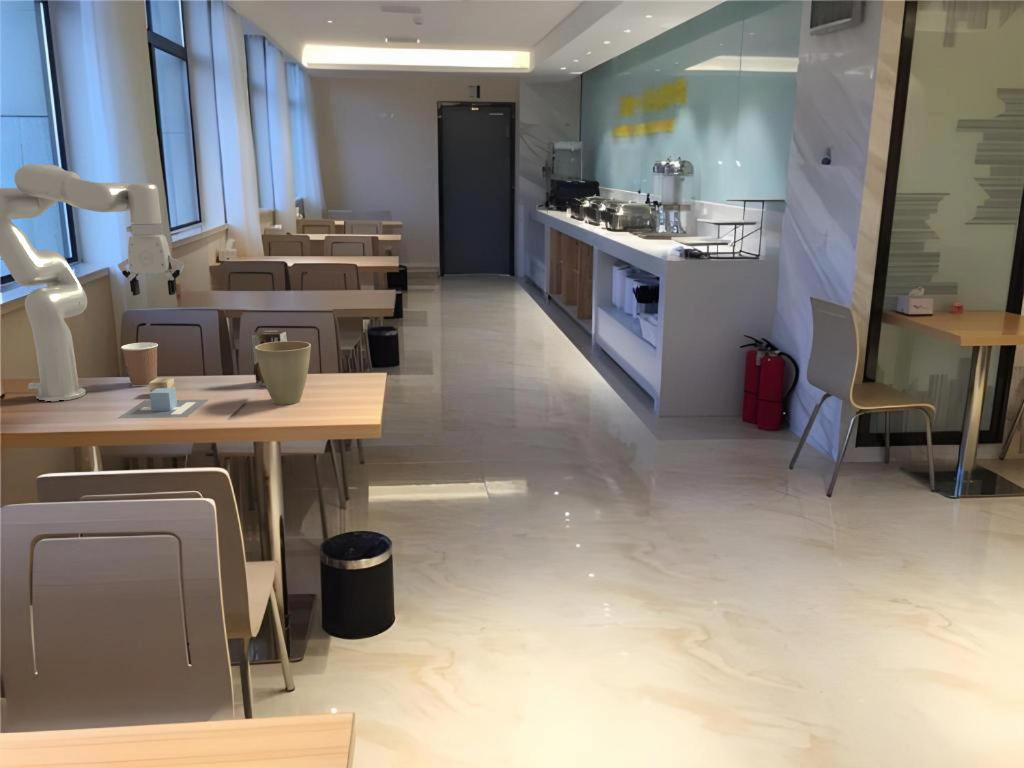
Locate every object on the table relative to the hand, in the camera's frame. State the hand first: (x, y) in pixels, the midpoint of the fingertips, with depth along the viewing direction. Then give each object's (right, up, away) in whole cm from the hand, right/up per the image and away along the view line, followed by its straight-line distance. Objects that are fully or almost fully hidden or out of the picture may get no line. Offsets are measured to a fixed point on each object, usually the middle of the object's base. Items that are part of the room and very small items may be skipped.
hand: (154, 294), depth 226 cm
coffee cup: (-15, -25, +28) cm, 40 cm away
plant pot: (+34, -29, +7) cm, 46 cm away
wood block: (-3, -28, +13) cm, 31 cm away
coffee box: (+25, -24, +27) cm, 44 cm away
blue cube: (+3, -31, -2) cm, 31 cm away
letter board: (+3, -32, -1) cm, 32 cm away
